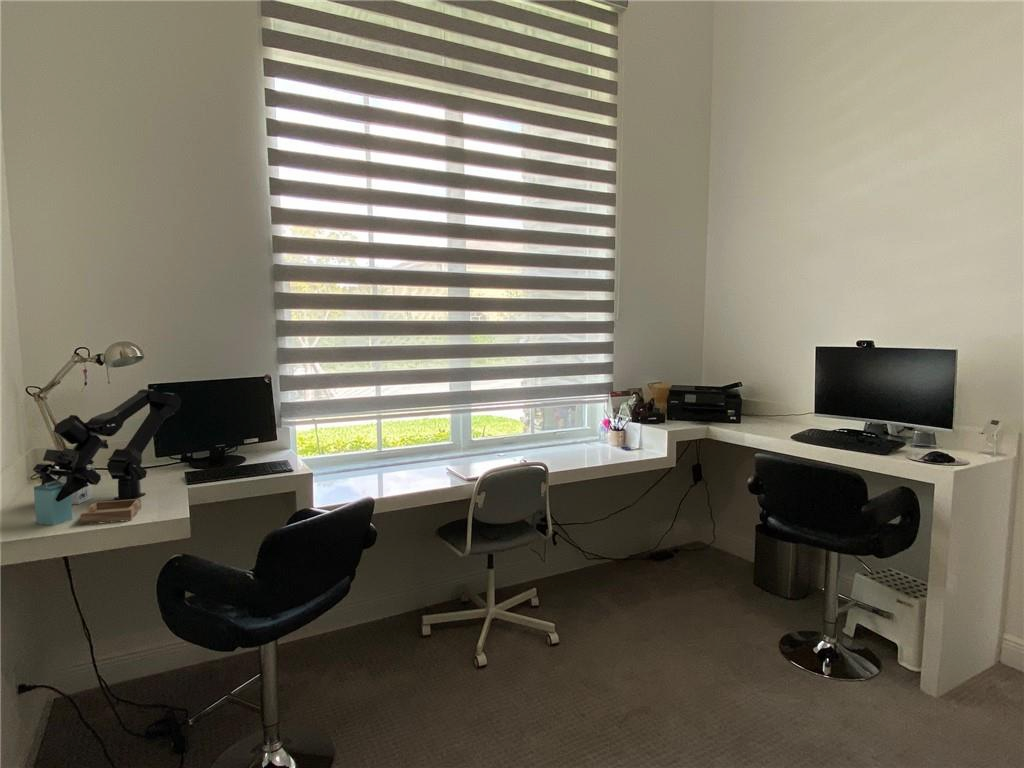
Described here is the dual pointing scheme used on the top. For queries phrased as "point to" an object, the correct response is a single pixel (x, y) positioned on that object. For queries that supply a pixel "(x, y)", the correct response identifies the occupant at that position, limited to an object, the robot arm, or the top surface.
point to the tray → (111, 511)
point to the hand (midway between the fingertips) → (48, 500)
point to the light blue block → (51, 504)
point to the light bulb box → (79, 492)
